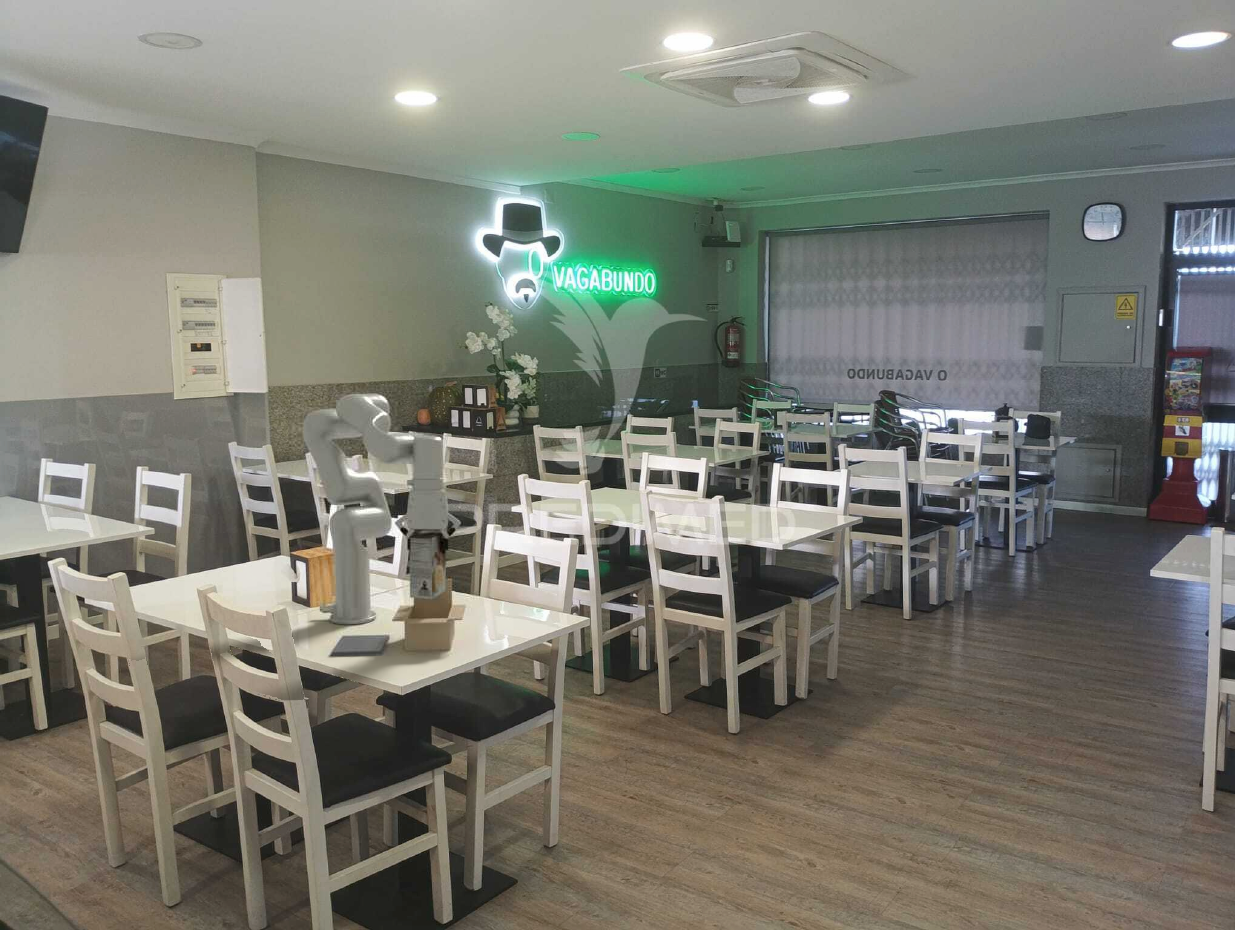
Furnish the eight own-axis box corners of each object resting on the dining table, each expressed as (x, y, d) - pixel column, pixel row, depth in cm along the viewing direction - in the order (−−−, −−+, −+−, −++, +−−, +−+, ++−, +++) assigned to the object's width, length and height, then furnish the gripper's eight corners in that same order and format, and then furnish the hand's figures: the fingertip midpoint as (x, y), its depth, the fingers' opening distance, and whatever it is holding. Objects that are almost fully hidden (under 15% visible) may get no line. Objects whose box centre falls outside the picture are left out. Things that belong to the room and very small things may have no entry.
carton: (390, 654, 233) (389, 595, 231) (400, 635, 250) (399, 579, 248) (461, 653, 234) (460, 594, 233) (466, 633, 251) (465, 578, 250)
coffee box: (423, 589, 248) (423, 528, 246) (446, 590, 246) (446, 530, 245) (409, 597, 239) (408, 535, 237) (432, 599, 237) (432, 537, 236)
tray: (331, 655, 231) (331, 651, 231) (342, 639, 245) (342, 635, 245) (381, 654, 233) (381, 650, 232) (389, 638, 246) (389, 634, 246)
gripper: (390, 486, 235) (391, 556, 237) (461, 487, 236) (461, 556, 238) (395, 482, 242) (395, 549, 244) (463, 483, 244) (463, 550, 246)
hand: (428, 552), depth 241 cm, fingers closed on coffee box, 7 cm apart
